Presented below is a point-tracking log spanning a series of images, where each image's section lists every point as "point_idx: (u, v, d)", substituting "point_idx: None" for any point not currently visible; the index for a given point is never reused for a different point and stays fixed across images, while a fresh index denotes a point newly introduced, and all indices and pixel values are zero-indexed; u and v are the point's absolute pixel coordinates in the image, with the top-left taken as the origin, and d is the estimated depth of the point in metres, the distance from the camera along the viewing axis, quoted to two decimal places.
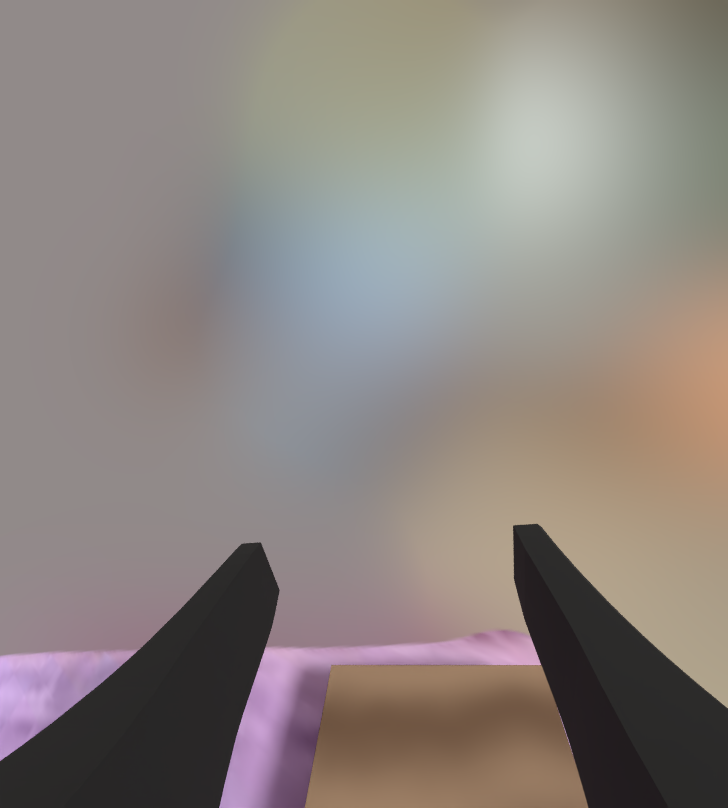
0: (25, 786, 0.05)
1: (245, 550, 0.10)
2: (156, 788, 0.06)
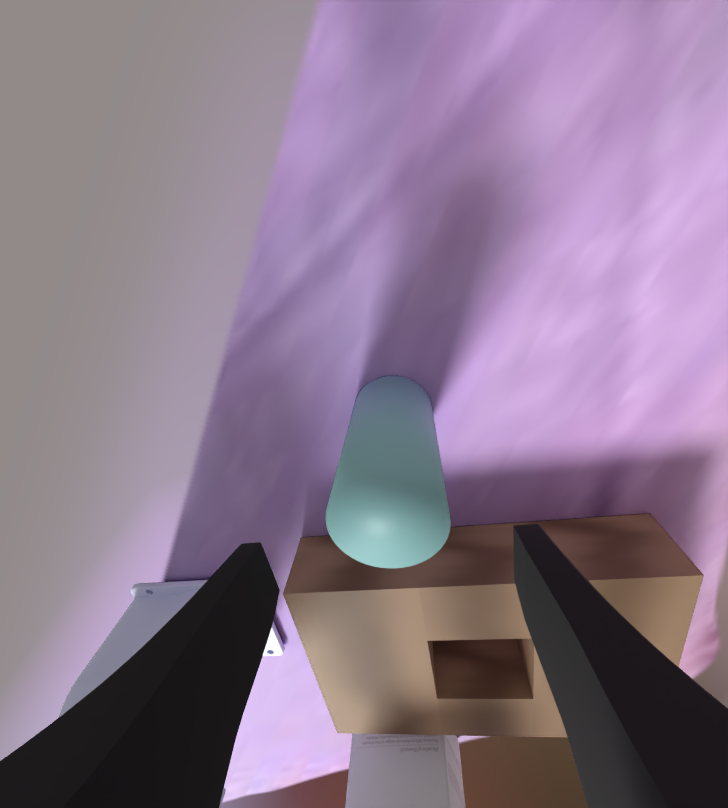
0: (26, 785, 0.05)
1: (245, 550, 0.10)
2: (156, 788, 0.06)
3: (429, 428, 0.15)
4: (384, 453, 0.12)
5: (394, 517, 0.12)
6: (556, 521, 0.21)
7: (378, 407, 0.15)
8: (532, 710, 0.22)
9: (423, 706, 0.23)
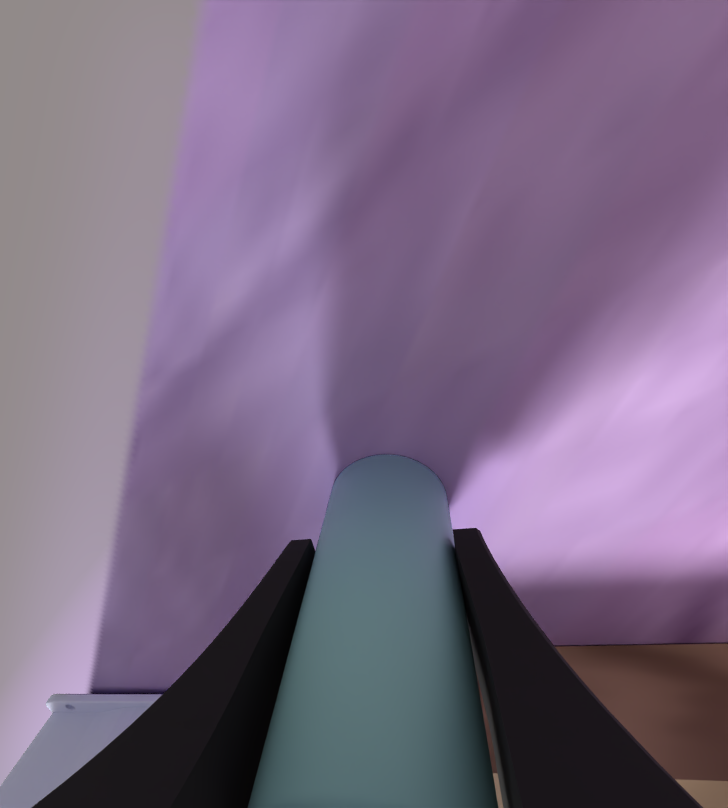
0: (120, 790, 0.05)
1: (297, 547, 0.10)
2: (238, 792, 0.06)
3: (449, 577, 0.09)
4: (365, 706, 0.06)
5: None
6: (623, 648, 0.15)
7: (362, 538, 0.09)
8: None
9: None
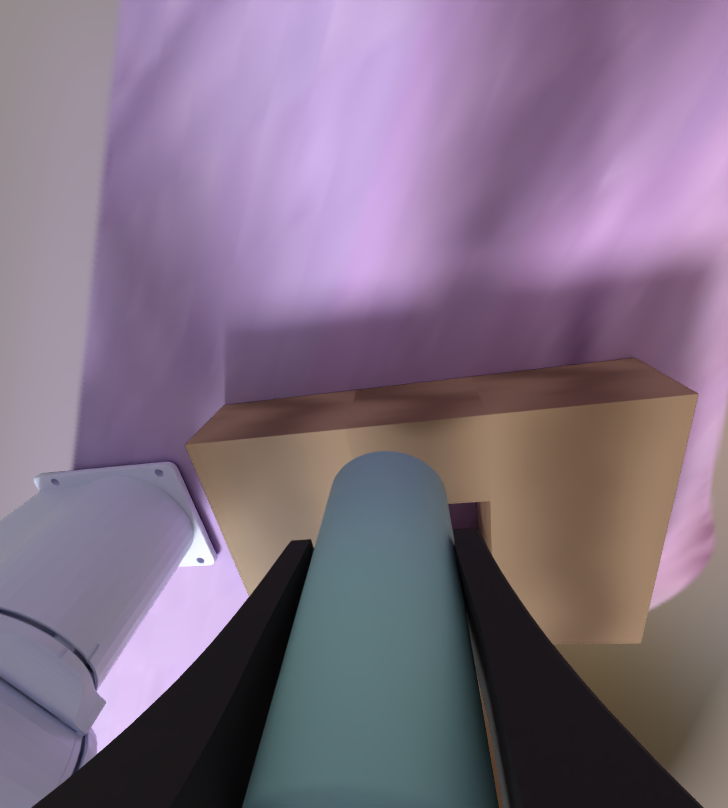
0: (119, 790, 0.05)
1: (297, 547, 0.10)
2: (238, 792, 0.06)
3: (447, 570, 0.09)
4: (360, 695, 0.06)
5: None
6: (523, 371, 0.17)
7: (359, 532, 0.09)
8: None
9: None
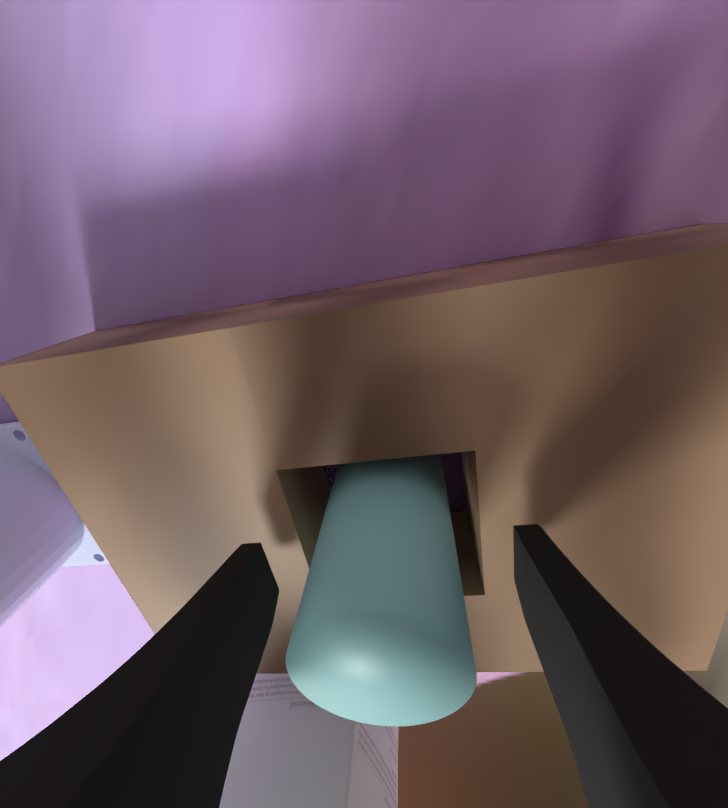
0: (26, 786, 0.05)
1: (245, 550, 0.10)
2: (156, 788, 0.06)
3: (438, 500, 0.11)
4: (372, 566, 0.08)
5: (390, 666, 0.08)
6: (525, 255, 0.11)
7: (368, 472, 0.11)
8: (485, 619, 0.13)
9: None
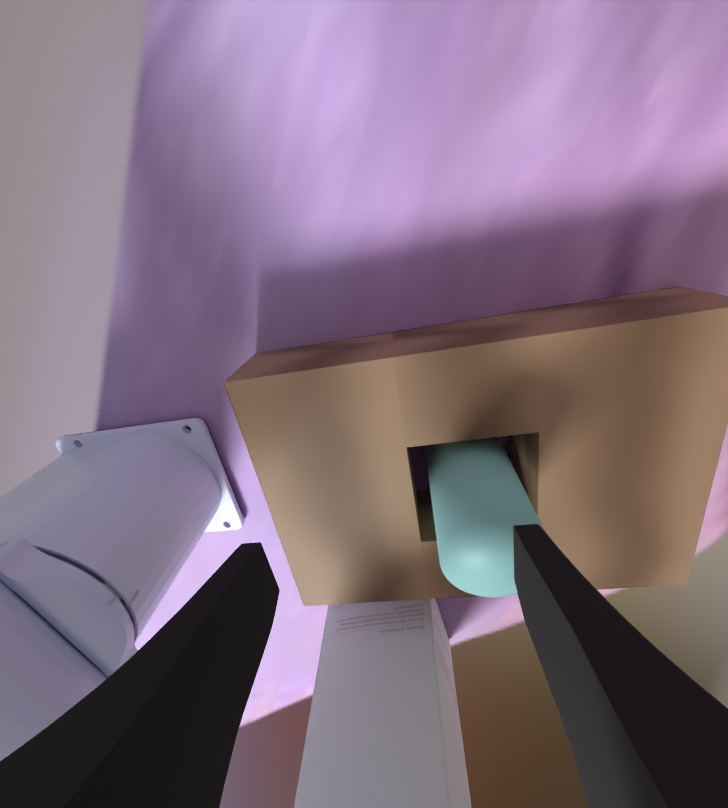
0: (26, 786, 0.05)
1: (245, 550, 0.10)
2: (156, 788, 0.06)
3: (511, 466, 0.17)
4: (490, 497, 0.14)
5: (503, 553, 0.13)
6: (564, 305, 0.17)
7: (464, 448, 0.17)
8: None
9: (405, 555, 0.19)
